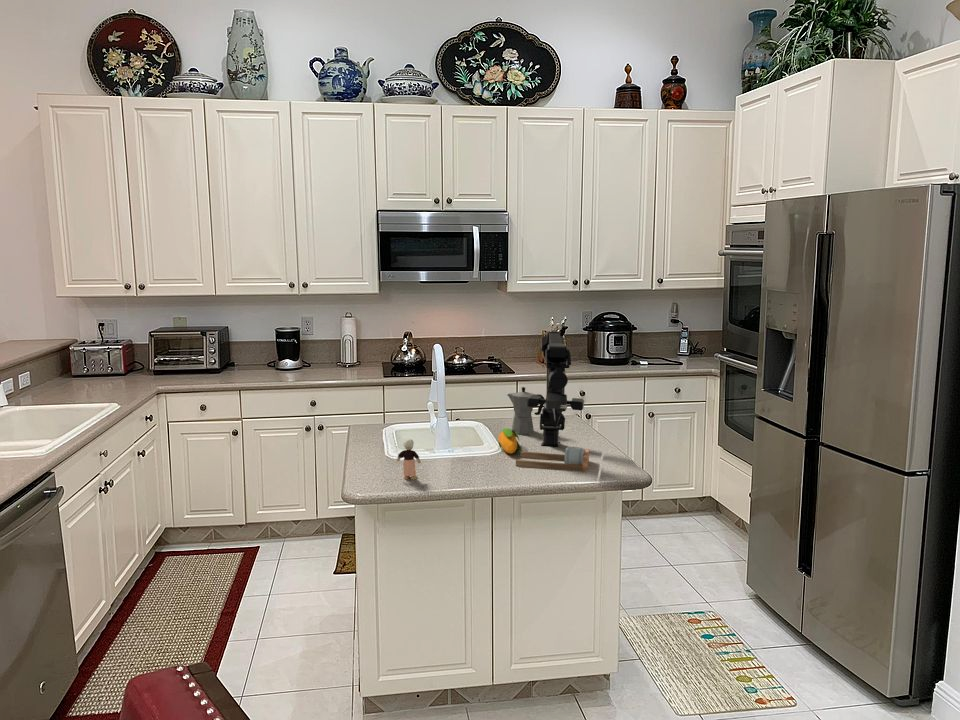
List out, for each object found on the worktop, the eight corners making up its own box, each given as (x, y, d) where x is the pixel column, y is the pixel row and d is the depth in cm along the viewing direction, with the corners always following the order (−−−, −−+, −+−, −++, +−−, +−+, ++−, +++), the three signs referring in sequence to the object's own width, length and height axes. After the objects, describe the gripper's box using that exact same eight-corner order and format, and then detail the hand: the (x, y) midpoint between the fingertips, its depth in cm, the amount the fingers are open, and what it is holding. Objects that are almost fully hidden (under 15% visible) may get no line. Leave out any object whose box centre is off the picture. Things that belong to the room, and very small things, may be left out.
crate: (566, 461, 241) (566, 447, 240) (584, 463, 240) (584, 448, 239) (564, 467, 235) (564, 452, 234) (582, 468, 234) (583, 453, 233)
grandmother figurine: (421, 476, 227) (421, 437, 225) (420, 480, 223) (420, 440, 221) (396, 476, 227) (396, 437, 225) (395, 480, 223) (395, 440, 221)
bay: (521, 458, 247) (521, 444, 246) (588, 463, 242) (589, 449, 242) (515, 468, 236) (515, 453, 235) (586, 473, 231) (586, 458, 231)
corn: (516, 424, 264) (523, 438, 244) (517, 443, 265) (524, 459, 245) (496, 425, 263) (502, 440, 244) (497, 445, 264) (503, 461, 245)
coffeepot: (503, 433, 280) (503, 388, 277) (510, 427, 289) (511, 383, 286) (541, 437, 275) (542, 391, 272) (547, 431, 284) (548, 386, 281)
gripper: (525, 386, 236) (524, 431, 238) (581, 389, 231) (580, 435, 234) (530, 379, 246) (529, 422, 249) (585, 382, 242) (583, 426, 245)
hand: (555, 427), depth 244 cm, fingers closed
